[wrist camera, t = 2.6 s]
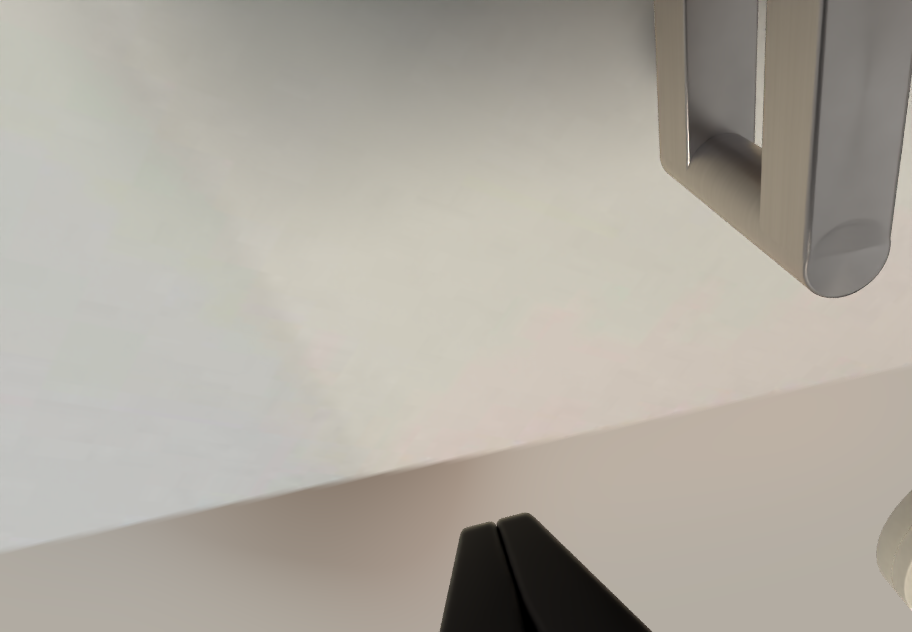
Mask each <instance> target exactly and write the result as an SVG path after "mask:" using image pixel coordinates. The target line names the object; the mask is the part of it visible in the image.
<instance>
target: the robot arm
mask: <svg viewBox="0 0 912 632" xmlns="http://www.w3.org/2000/svg"><path fill="white" fill-rule="evenodd" d="M440 632H652V631H651V630H650V629H649V628H647V626H646V625H644V623H643V622H641V620H640V619H639V618H637V617H636V616H635V615H634V614H633V613H632V612H631V611H630V610H629V609H628V608H627V607H626V606H625V605H624V604H623V603H622V602H621V601H620V600H619V599H618V598H617V597H616V596H615V595H614V594H613V593H612V592H611V591H610V590H609V589H607V588H606V586H605V585H604V584H602V583H601V582H600V581H599V580H598V579H597V578H596V577H595V576H594V575H593V574H592V573H591V572H590V571H589V570H588V569H587V568H586V567H585V566H584V565H583V564H582V563H581V562H580V561H579V560H578V559H577V558H576V557H575V556H573V554H572V553H571V552H570V551H569V550H567V549H566V548H565V547H564V546H563V545H562V544H561V543H560V542H559V541H558V540H557V539H556V538H555V537H554V536H553V535H552V534H551V533H550V532H549V531H548V530H547V529H546V528H545V527H544V526H543V525H542V524H541V523H540V522H539V521H538V520H536V518H534V517H533V516H532V515H531V514H529V513H521V514H517V515H513V516H509V517H505V518H502V519H500V520H499V521H498V522H497V527H496V525H495V524H494V523H493V522H486V523H482V524H479V525H474V526H471V527H467V528H464V529H463V531H462V532H461V534H460V539H459V543H458V548H457V553H456V557H455V562H454V567H453V571H452V577H451V581H450V585H449V590H448V595H447V600H446V604H445V609H444V614H443V618H442V623H441V628H440Z"/></svg>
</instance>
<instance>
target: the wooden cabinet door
mask: <svg viewBox="0 0 912 632" xmlns="http://www.w3.org/2000/svg"><path fill="white" fill-rule="evenodd" d="M654 19H655V44H656V70H657V96H658V121H659V147H660V161H661V164H662V166H663V168H664V170H665V171H666V172H667V173H668V174H669V175H670V176H671V177H673V178H674V179H675V180H676V181H678V182H679V183H680V184H681V185H682V186H684V187H685V188H686V189H687V190H689V191H690V192H691V193H692V194H693V195H695V196H696V197H697V198H698V199H700V200H701V201H702V202H703V203H704V204H706V205H707V206H708V207H709V208H710V209H712V210H713V211H714V212H715V213H717V214H718V215H719V216H720V217H721V218H723V219H724V220H725V221H726V222H728V223H729V224H730V225H731V226H732V227H734V228H735V229H736V230H737V231H739V232H740V233H741V234H742V235H743V236H745V237H746V238H747V239H748V240H749V241H751V242H752V243H753V244H754V245H756V246H757V247H758V248H759V249H760V250H762V251H763V252H764V253H765V254H767V255H768V256H769V257H770V258H771V259H773V260H774V261H775V262H776V263H778V264H779V265H780V266H781V267H782V268H784V269H785V270H786V271H787V272H788V273H790V274H791V275H792V276H793V277H795V278H796V279H797V280H798V281H799V282H801V283H802V284H803V285H804V286H806V287H807V288H808V289H809V290H810V291H812V292H813V293H815V294H816V295H819V296H822V297H827V298H839V297H844V296H847V295H850V294H853V293H855V292H857V291H859V290H860V289H862V288H863V287H865V286H866V285H867V284H869V283H870V282H871V281H872V280H873V279H874V278H875V277H876V276H877V275H878V273H879V272H880V271H881V269H882V268H883V266H884V264H885V262H886V260H887V258H888V255H889V252H890V245H891V240H890V237H891V230H892V222H893V214H894V207H895V199H896V191H897V183H898V176H899V168H900V160H901V153H902V145H903V137H904V129H905V122H906V114H907V106H908V99H909V91H910V83H911V75H912V0H767V11H766V42H765V73H764V104H763V135H762V148H761V147H759V146H758V145H756V144H754V142H755V104H756V67H757V30H758V0H654Z"/></svg>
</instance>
